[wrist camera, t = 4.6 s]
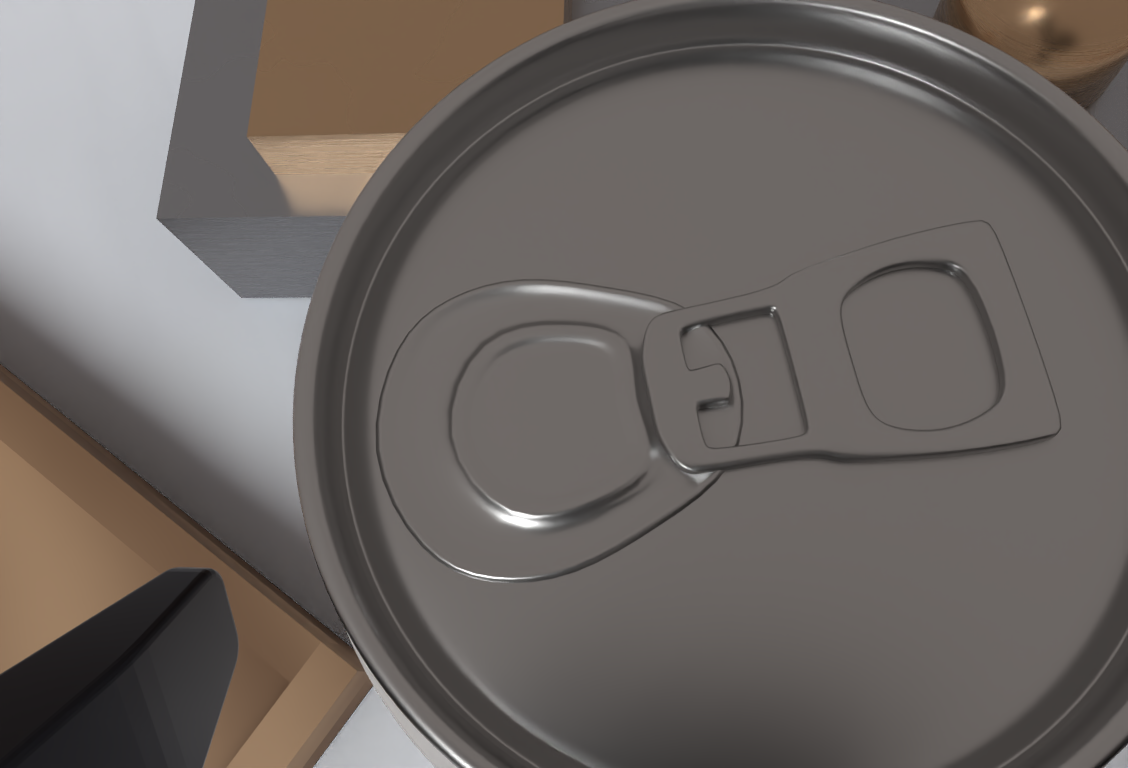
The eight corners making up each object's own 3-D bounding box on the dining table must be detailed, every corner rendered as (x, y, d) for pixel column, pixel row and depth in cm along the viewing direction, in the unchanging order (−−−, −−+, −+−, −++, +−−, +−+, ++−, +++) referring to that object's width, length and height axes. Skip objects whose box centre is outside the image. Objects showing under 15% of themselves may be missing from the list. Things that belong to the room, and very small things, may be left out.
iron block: (1122, 23, 20) (1290, -217, 14) (1167, 293, 18) (1378, 131, 13) (277, 49, 21) (154, -156, 16) (241, 297, 20) (90, 156, 14)
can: (483, 442, 18) (194, 37, 7) (819, 376, 18) (1098, -157, 7) (539, 804, 16) (261, 1090, 5) (917, 736, 16) (1564, 864, 5)
